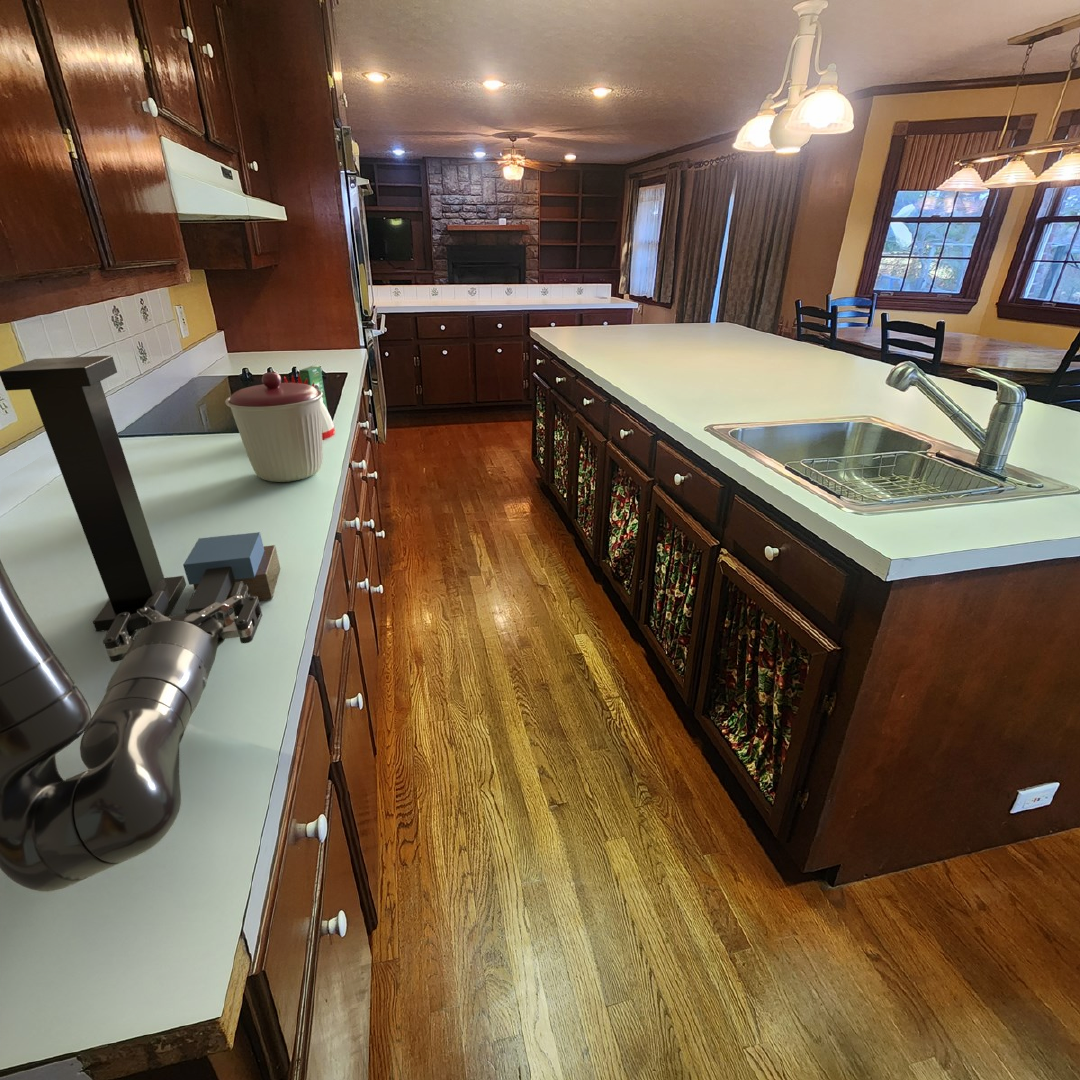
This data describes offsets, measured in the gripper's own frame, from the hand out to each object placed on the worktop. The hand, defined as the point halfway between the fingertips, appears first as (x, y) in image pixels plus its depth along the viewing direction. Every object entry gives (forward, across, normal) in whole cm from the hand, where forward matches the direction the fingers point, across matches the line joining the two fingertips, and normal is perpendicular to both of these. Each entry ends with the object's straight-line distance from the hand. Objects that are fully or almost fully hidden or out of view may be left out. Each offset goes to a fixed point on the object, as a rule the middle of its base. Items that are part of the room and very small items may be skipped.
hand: (202, 592), depth 72 cm
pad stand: (+10, +11, +6) cm, 17 cm away
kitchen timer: (+90, -3, +6) cm, 91 cm away
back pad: (+6, 0, +3) cm, 7 cm away
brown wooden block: (+12, -1, +6) cm, 14 cm away
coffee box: (+111, -4, +6) cm, 112 cm away
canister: (+60, -2, +7) cm, 61 cm away
